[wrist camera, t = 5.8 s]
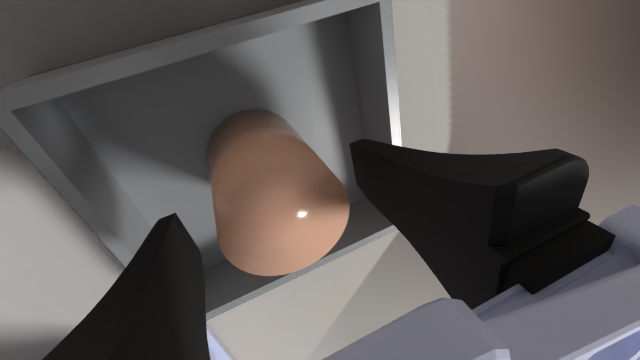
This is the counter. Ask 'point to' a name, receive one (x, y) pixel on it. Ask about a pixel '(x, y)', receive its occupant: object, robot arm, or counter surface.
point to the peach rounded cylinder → (272, 195)
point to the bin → (210, 123)
